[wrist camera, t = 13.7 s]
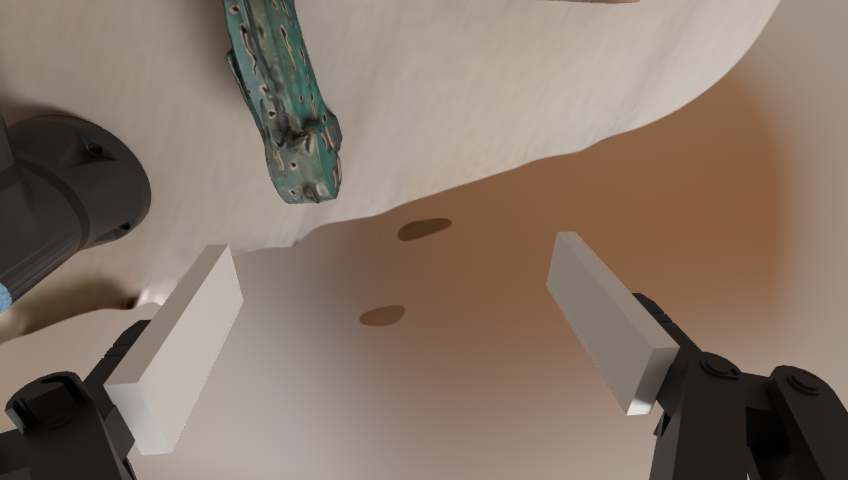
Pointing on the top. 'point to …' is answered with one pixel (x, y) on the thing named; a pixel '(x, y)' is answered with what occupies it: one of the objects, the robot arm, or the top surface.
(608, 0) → the walnut slotted base
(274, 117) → the teal animal figurine
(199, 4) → the top surface
